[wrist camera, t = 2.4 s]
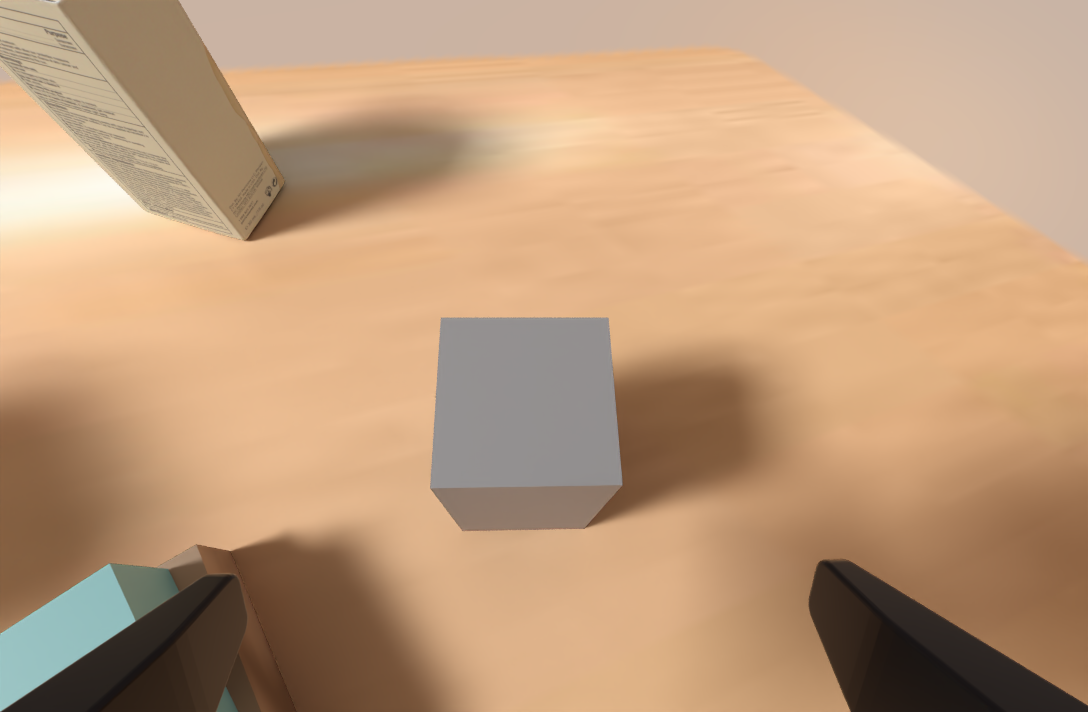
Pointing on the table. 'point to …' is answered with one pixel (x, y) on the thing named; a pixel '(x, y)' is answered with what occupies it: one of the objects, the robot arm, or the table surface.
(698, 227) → the table surface
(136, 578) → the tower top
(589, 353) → the grey block
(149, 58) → the skincare box
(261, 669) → the tower base
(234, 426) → the table surface
